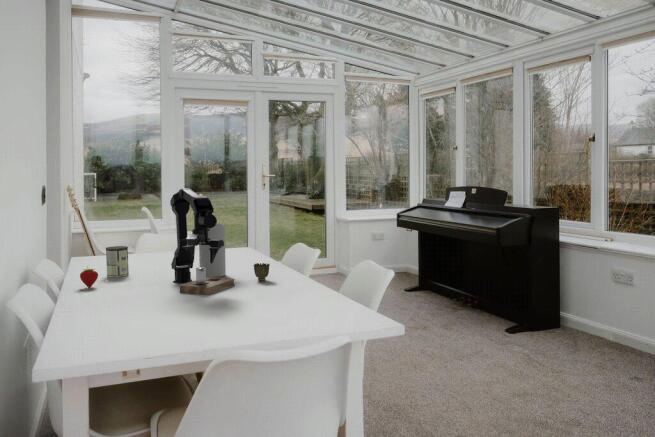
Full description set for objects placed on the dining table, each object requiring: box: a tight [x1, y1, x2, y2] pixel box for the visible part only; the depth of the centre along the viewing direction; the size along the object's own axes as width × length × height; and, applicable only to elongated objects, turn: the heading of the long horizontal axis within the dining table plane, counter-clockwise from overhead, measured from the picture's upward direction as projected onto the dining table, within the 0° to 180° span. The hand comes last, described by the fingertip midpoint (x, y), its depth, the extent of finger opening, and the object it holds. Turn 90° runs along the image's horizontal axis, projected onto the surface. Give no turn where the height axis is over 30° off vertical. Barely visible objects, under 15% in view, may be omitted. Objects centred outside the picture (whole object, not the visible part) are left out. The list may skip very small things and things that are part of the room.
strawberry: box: [79, 265, 99, 288], centre depth 241 cm, size 6×8×10 cm
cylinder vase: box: [198, 223, 227, 278], centre depth 269 cm, size 12×12×25 cm
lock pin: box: [195, 266, 206, 286], centre depth 233 cm, size 4×4×10 cm
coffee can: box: [105, 245, 129, 278], centre depth 271 cm, size 10×10×14 cm
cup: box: [253, 262, 270, 282], centre depth 256 cm, size 8×7×8 cm
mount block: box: [179, 277, 235, 296], centre depth 238 cm, size 14×21×3 cm, turn 160°
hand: (202, 262), depth 233 cm, fingers open, 9 cm apart
